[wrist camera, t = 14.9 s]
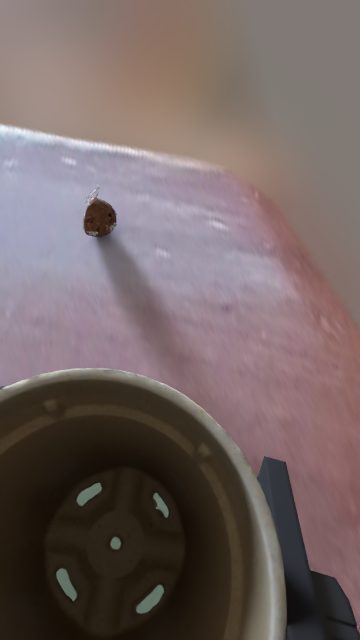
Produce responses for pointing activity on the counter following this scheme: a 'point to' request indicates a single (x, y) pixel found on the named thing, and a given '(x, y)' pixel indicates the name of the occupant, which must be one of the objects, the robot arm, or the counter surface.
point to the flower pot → (130, 516)
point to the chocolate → (98, 217)
